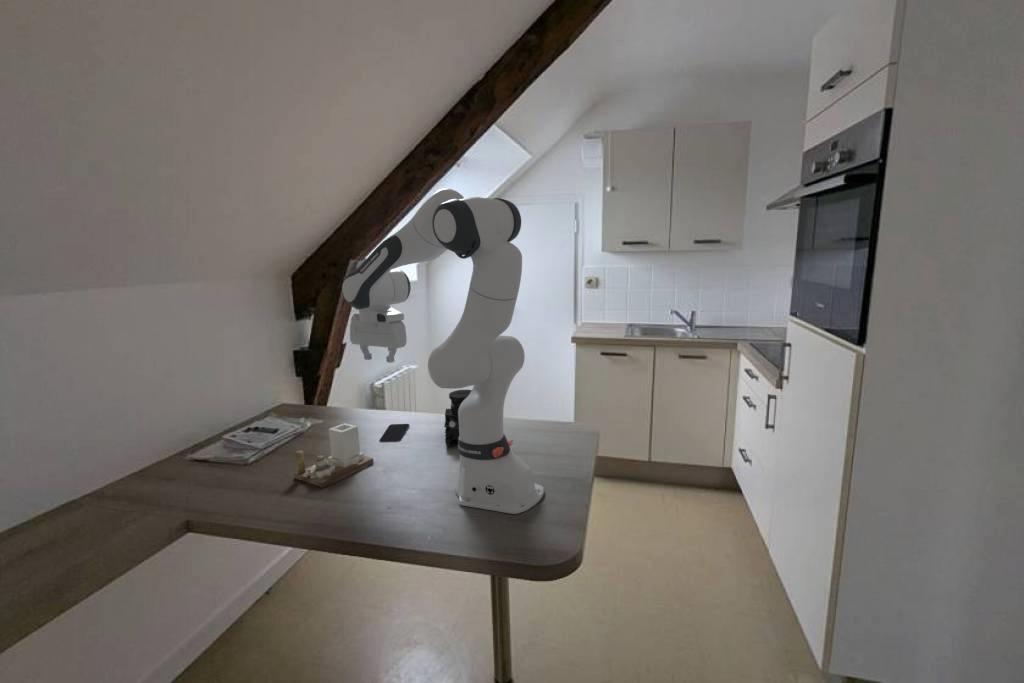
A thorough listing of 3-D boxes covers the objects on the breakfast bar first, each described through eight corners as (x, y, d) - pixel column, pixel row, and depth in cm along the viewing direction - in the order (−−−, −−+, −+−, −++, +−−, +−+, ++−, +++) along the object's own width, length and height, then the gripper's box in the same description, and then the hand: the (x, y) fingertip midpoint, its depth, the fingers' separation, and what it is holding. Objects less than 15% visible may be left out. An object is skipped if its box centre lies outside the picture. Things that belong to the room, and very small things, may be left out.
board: (373, 463, 145) (371, 438, 143) (322, 488, 130) (319, 461, 129) (346, 455, 151) (343, 432, 150) (294, 478, 137) (291, 452, 135)
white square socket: (371, 457, 145) (368, 424, 143) (343, 470, 137) (340, 436, 135) (348, 451, 150) (345, 419, 149) (320, 463, 142) (317, 430, 140)
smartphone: (377, 441, 161) (389, 424, 176) (378, 444, 161) (390, 427, 176) (400, 440, 161) (410, 423, 175) (400, 444, 161) (410, 426, 176)
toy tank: (483, 427, 171) (481, 386, 169) (484, 448, 153) (482, 401, 151) (447, 429, 170) (445, 387, 168) (444, 450, 153) (441, 404, 150)
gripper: (342, 314, 147) (347, 360, 150) (392, 317, 136) (396, 366, 139) (359, 311, 152) (363, 356, 155) (408, 314, 141) (411, 361, 144)
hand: (379, 360), depth 147 cm, fingers open, 8 cm apart
